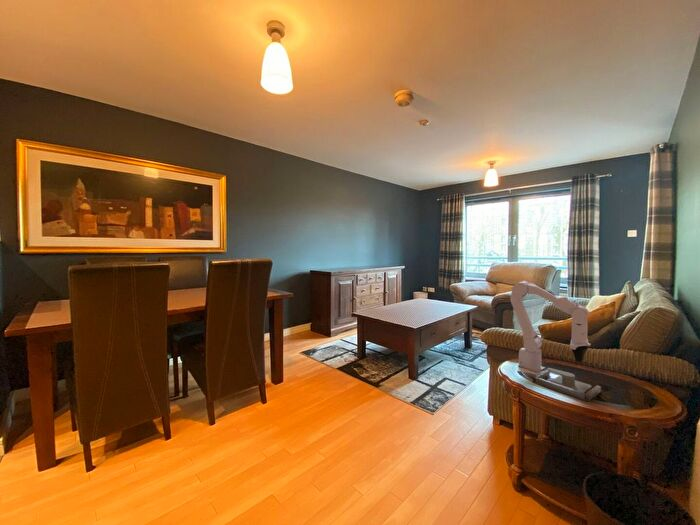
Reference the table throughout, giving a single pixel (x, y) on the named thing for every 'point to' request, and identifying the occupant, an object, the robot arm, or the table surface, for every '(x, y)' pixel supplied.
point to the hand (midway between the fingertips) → (578, 361)
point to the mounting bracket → (583, 396)
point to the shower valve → (569, 381)
